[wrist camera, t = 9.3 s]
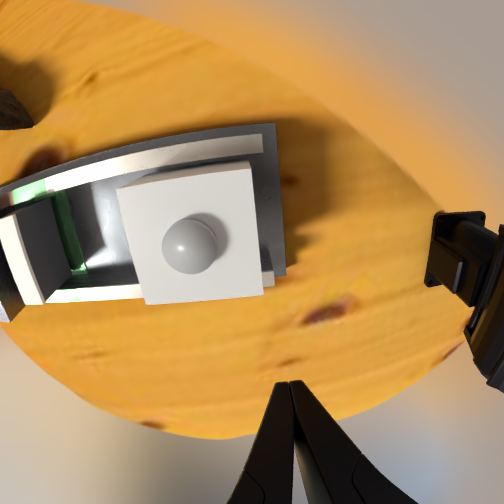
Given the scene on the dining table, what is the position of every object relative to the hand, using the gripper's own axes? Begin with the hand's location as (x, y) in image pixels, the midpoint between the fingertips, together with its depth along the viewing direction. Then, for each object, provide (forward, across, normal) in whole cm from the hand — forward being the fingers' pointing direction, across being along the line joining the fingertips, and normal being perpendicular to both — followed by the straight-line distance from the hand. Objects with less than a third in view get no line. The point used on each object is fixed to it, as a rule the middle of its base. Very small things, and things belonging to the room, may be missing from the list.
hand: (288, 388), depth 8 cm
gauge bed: (+12, +11, -3) cm, 16 cm away
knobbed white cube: (+11, +4, -3) cm, 12 cm away
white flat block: (+11, +15, -2) cm, 19 cm away
